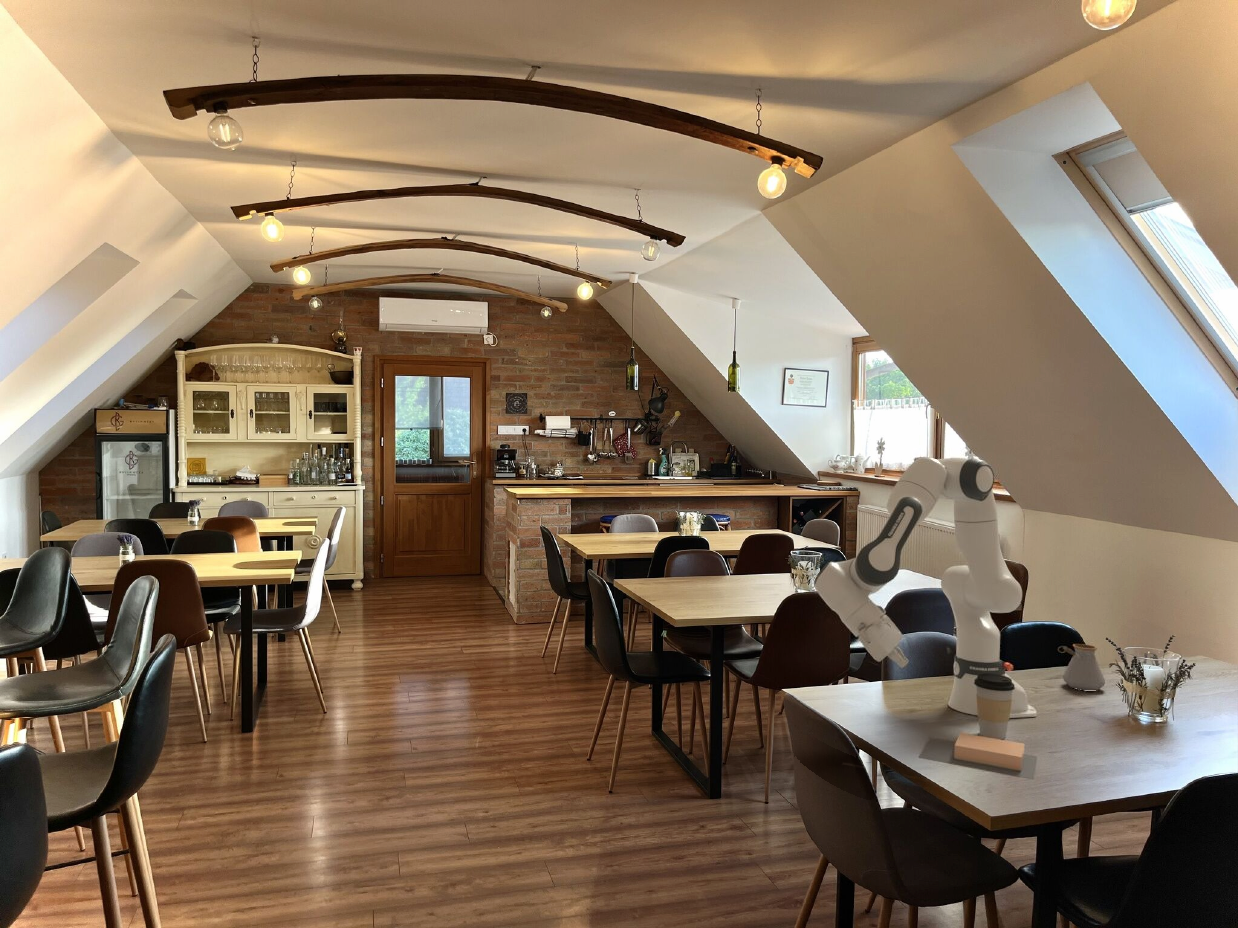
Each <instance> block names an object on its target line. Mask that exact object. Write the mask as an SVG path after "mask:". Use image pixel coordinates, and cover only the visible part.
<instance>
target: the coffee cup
mask: <svg viewBox="0 0 1238 928" xmlns="http://www.w3.org/2000/svg"><path fill="white" fill-rule="evenodd" d="M1009 677H1010V676H1009ZM1009 677H1006V676H1003V675H998V674H988V673H985V674H979V675H978V676H977V678H976V679H975V680H974V681H975V682H974V684H975V685H976V687H977V694H976V697H977V711H978V716H977V717H978V726H979V727H978V728H979V736H982V737H988V738H994V739H1000V740H1004V739H1006V737H1007V730H1008V724H1009V721H1010V718H1009V717H1010V710H1011V703H1012V692H1013V690H1014V689H1015V687H1014V684H1013V683H1012V679H1013V678H1012V679H1011V677H1010V678H1009Z"/></svg>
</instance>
